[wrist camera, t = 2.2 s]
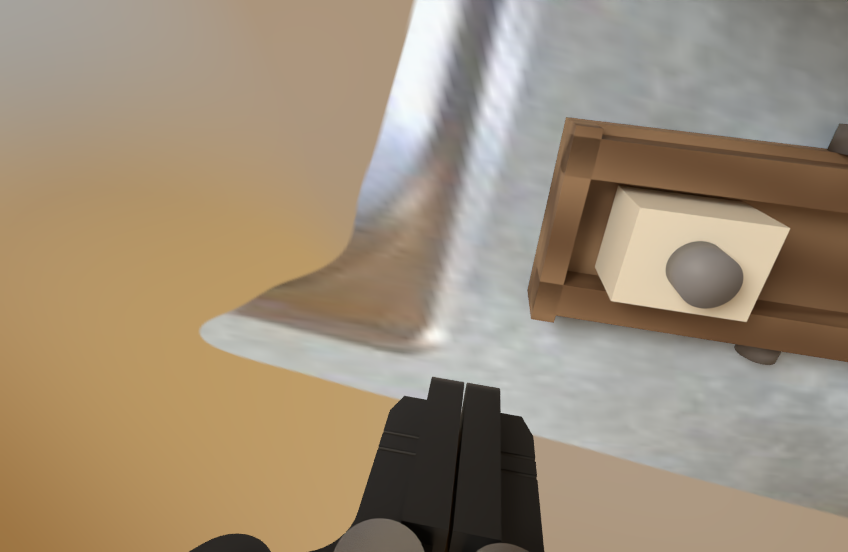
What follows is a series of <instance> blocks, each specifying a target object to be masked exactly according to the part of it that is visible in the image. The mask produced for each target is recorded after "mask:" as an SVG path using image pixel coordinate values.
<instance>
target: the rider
mask: <svg viewBox="0 0 848 552" xmlns="http://www.w3.org/2000/svg"><path fill="white" fill-rule="evenodd" d="M789 230H790V228H789V227H787V226H786V225H784V224H782V223H780V222H778V221H777V220H775V219H773V218H771V217H770V216H768V215H766V214H764V213H762V212H761V211H759V210H757V209H755V208H753V207H752V206H750V205H748V204H746V203H744V202H739V201H732V200H724V199H717V198H709V197H702V196H694V195H687V194H679V193H671V192H664V191H656V190H649V189H641V188H634V187H626V186H619V185H618V188H617V191H616V195H615V198H614V202H613V205H612V209H611V212H610V216H609V219H608V223H607V226H606V230H605V233H604V237H603V240H602V243H601V247H600V250H599V254H598V257H597V261H596V264H595V269H596V271H597V273H598V275H599V277H600V279H601V281H602V283H603V285H604V288H605V290H606V292H607V294H608V296H609V298H610V300H611V301H614V302H620V303H627V304H633V305H640V306H646V307H653V308H659V309H665V310H672V311H678V312H685V313H691V314H698V315H704V316H710V317H717V318H723V319H730V320H736V321H743V322H747V320H748V318H749V316H750V313H751V311H752V309H753V307H754V305H755V303H756V301H757V298H758V296H759V294H760V292H761V290H762V288H763V286H764V284H765V281H766V279H767V277H768V275H769V273H770V271H771V269H772V267H773V264H774V262H775V260H776V258H777V256H778V254H779V252H780V250H781V247H782V245H783V243H784V241H785V239H786V237H787V235H788V233H789Z"/></svg>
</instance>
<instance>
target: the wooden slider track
mask: <svg viewBox="0 0 848 552" xmlns="http://www.w3.org/2000/svg"><path fill="white" fill-rule="evenodd" d="M618 185H619V186H626V187H634V188H641V189H649V190H656V191H664V192H671V193H679V194H687V195H694V196H702V197H709V198H717V199H724V200H732V201H739V202H744V203H746V204H748V205H750V206H752V207H753V208H755V209H757V210H759V211H761V212H762V213H764V214H766V215H768V216H770V217H771V218H773V219H775V220H777V221H778V222H780V223H782V224H784V225H786V226H787V227H789V228H790V230H789V233H788V235H787V237H786V239H785V241H784V243H783V245H782V247H781V250H780V252H779V254H778V256H777V258H776V260H775V262H774V264H773V267H772V269H771V271H770V273H769V275H768V277H767V279H766V281H765V284H764V286H763V288H762V290H761V292H760V294H759V296H758V298H757V301H756V303H755V305H754V307H753V309H752V311H751V313H750V316H749V318H748V320H747V322H743V321H736V320H730V319H723V318H717V317H710V316H704V315H698V314H691V313H685V312H678V311H672V310H665V309H659V308H653V307H646V306H640V305H633V304H627V303H620V302H614V301H611V300H610V298H609V296H608V294H607V292H606V290H605V288H604V285H603V283H602V281H601V279H600V277H599V275H598V273H597V271H596V269H595V264H596V261H597V257H598V254H599V250H600V247H601V243H602V240H603V237H604V233H605V230H606V226H607V223H608V219H609V216H610V212H611V209H612V205H613V202H614V198H615V195H616V191H617V188H618ZM528 298H529V306H530V314H531V319H535V320H541V321H547V322H553V323H554V320H555V316H556V315H557V316H563V317H569V318H576V319H582V320H588V321H594V322H601V323H607V324H613V325H619V326H626V327H632V328H638V329H644V330H651V331H657V332H663V333H670V334H676V335H682V336H688V337H695V338H701V339H707V340H713V341H720V342H726V343H732V344H736V345H735V350H736V351H737V352H738V353H739V354H740V355H741V356H743V357H745V358H747V359H749V360H751V361H753V362H756V363H760V364H765V365H772V364H775V362H776V360H777V358H778V357H779V355H780V353H781V351H782V352H788V353H795V354H801V355H807V356H814V357H820V358H826V359H832V360H839V361H845V362H848V124H839V126H838V128H837V130H836V132H835V134H834V136H833V139H832V141H831V143H830V145H829V147H828V149H824V148H816V147H808V146H799V145H791V144H783V143H775V142H766V141H758V140H750V139H741V138H733V137H725V136H717V135H708V134H700V133H692V132H684V131H675V130H667V129H659V128H651V127H642V126H634V125H626V124H617V123H609V122H601V121H593V120H584V119H576V118H568V117H566V120H565V124H564V129H563V133H562V138H561V142H560V147H559V151H558V156H557V160H556V165H555V169H554V174H553V178H552V183H551V187H550V192H549V196H548V201H547V205H546V210H545V214H544V219H543V223H542V228H541V232H540V236H539V241H538V245H537V250H536V254H535V259H534V263H533V268H532V272H531V277H530V281H529V286H528Z"/></svg>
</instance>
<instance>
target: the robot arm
mask: <svg viewBox="0 0 848 552" xmlns="http://www.w3.org/2000/svg"><path fill="white" fill-rule="evenodd" d="M463 390H464V382H459V381H454V380H448V379H442V378H437V377H432V379H431V384H430V388H429V393H428V398H427V400H424V399H419V398H413V397H408V396H404V397H403V398H402V399H401V400H400V401H399V402H398V403H397V404H396V405H395V406H394V407H393V408H392V409H391V410H390V412H389V415H388V418H387V421H386V425H385V428H384V432H383V434H382V437H381V440H380V444H379V448H378V450H377V453H376V457H375V459H374V463H373V466H372V469H371V472H370V475H369V479H368V482H367V485H366V488H365V491H364V494H363V498H362V501H361V504H360V507H359V510H358V513H357V516H356V518H355V520H354V522H353V524H352V525H351V527H350V528H349V529H348V530H347V531H346V533H345V534H343V535H342V536H341V537H340V538H339V539H338V540H336V541H335V542H333V543H332V544H330V545H328V546H326V547H324V548H321V549H318V550H315V551H310V552H544V545H543V535H542V524H541V513H540V503H539V493H538V482H537V480H536V477H537V472H536V462H535V452H534V440H533V435H532V434H531V432H530V430H529V429H528V427H527V425H526V423H525V422H524V420H523V418H522V417H520V416H515V415H509V414H503V413H500V388H495V387H489V386H483V385H478V384H472V383H467V384H466V389H465V395H464V401H463V406H462V400H463ZM461 409H462V412H461ZM190 552H271V551H270V550H269V548H268V547H267V546H266V545H265V544H264V543H263V542H262V541H261V540H259V539H257V538H255V537H253V536H250V535H246V534H228V535H223V536H219V537H217V538H214V539H211V540H209V541H207V542H205V543H203V544H201V545H200V546H198V547H196V548H195V549H193V550H191V551H190Z"/></svg>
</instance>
